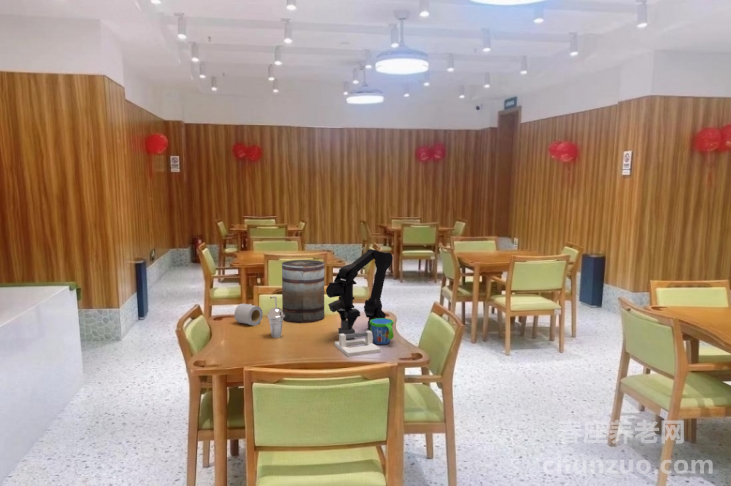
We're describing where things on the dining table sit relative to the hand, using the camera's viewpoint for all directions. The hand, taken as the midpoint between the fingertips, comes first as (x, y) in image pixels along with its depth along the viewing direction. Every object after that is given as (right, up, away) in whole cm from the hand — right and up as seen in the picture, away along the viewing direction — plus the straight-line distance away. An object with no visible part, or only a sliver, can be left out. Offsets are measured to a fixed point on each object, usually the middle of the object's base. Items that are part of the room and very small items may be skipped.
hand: (346, 327), depth 231 cm
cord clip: (0, -5, 0) cm, 5 cm away
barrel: (-25, -1, +37) cm, 45 cm away
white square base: (+5, -7, -14) cm, 17 cm away
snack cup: (+16, -6, -5) cm, 18 cm away
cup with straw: (-34, -5, +3) cm, 34 cm away
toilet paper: (-51, -3, +24) cm, 57 cm away
